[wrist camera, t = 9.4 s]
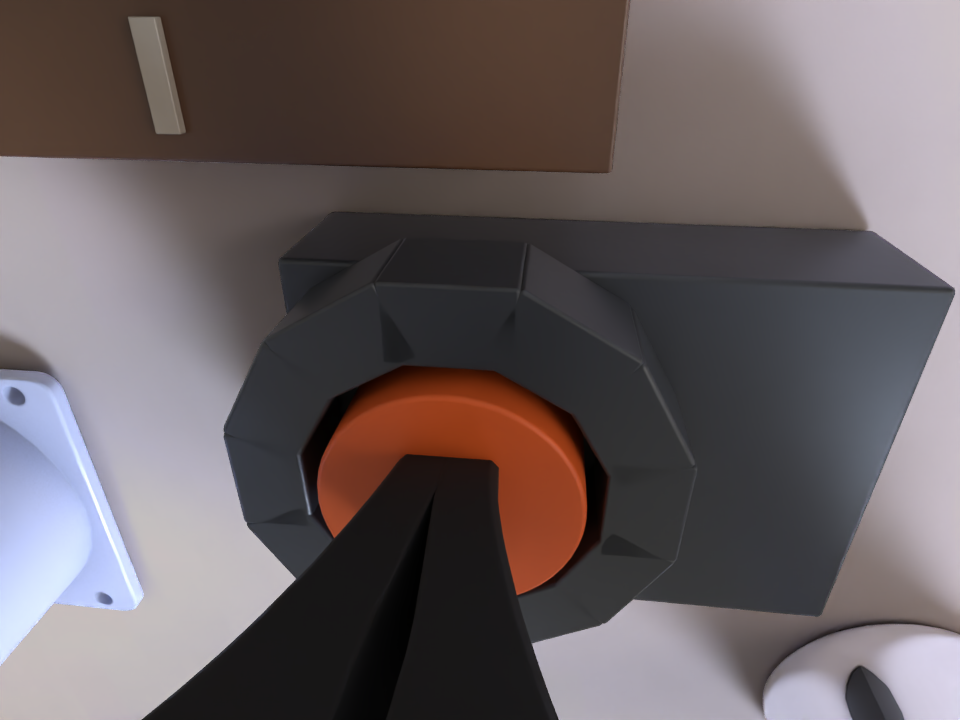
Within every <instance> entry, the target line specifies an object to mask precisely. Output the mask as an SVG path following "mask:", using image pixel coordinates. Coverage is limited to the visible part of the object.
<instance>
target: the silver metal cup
mask: <svg viewBox="0 0 960 720" xmlns="http://www.w3.org/2000/svg"><path fill="white" fill-rule="evenodd" d="M763 711H764V715H765V718H766V720H960V634H957V633H954V632H951V631H948V630H944V629H940V628H936V627H931V626H925V625H916V624H876V625H868V626H861V627H856V628H851V629H846V630H842V631H839V632H836V633H832V634H829V635H826V636H824V637H821V638H819V639H816V640H814V641H812V642H810V643H808V644H806V645H804V646H802V647H801V648H799V649H798V650H796V651H794V652H793V653H792V654H790V655H789V656H788V657H786V658H785V659H784V660H783V661H782V662H781V663H780V664H779V665H778V666H777V667H776V668H775V670H774V671H773V672H772V674H771V675H770V677H769V678H768V680H767V682H766V685H765V687H764V691H763Z"/></svg>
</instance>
